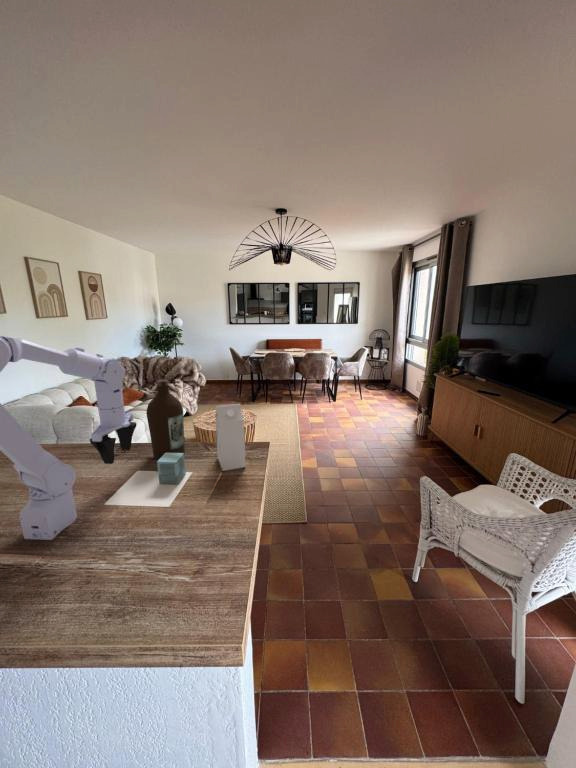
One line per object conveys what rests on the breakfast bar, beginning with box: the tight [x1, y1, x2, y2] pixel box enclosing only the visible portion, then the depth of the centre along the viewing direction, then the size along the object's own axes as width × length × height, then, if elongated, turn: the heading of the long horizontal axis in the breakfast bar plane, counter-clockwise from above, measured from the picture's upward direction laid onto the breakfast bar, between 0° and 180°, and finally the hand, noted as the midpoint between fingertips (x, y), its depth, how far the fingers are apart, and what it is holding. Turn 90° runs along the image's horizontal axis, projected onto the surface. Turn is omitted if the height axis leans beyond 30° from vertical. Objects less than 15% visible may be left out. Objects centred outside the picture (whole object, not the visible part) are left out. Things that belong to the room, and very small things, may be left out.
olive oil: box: [145, 379, 186, 460], centre depth 101 cm, size 11×11×25 cm
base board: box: [103, 470, 193, 508], centre depth 85 cm, size 16×16×1 cm
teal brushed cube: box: [156, 453, 187, 485], centre depth 88 cm, size 5×5×7 cm
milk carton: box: [214, 403, 246, 472], centre depth 97 cm, size 7×7×19 cm
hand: (118, 456), depth 85 cm, fingers open, 7 cm apart
